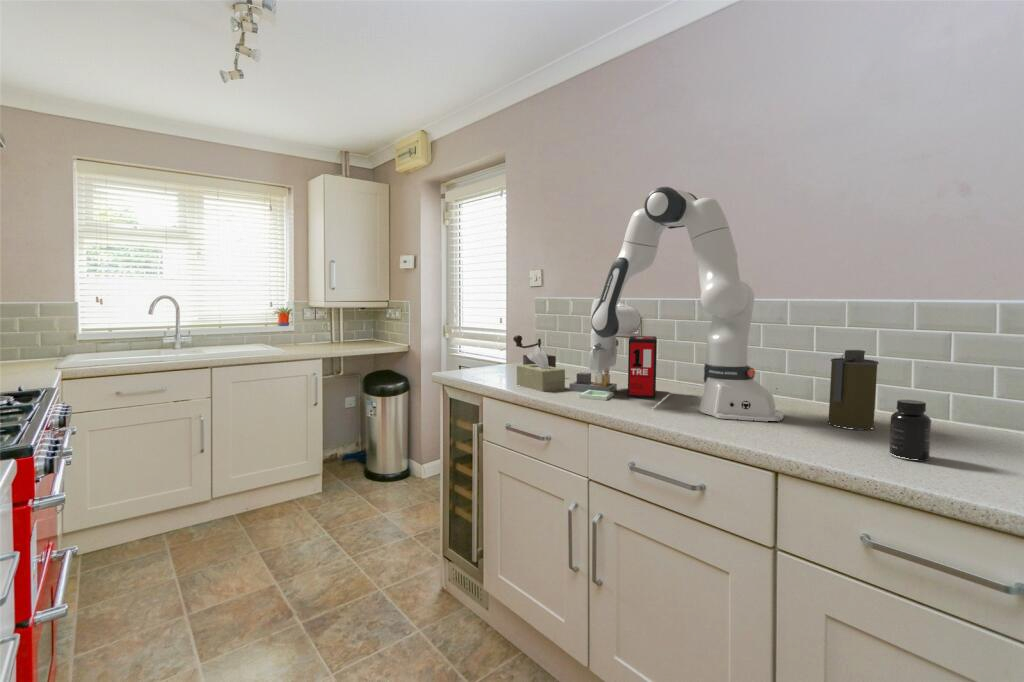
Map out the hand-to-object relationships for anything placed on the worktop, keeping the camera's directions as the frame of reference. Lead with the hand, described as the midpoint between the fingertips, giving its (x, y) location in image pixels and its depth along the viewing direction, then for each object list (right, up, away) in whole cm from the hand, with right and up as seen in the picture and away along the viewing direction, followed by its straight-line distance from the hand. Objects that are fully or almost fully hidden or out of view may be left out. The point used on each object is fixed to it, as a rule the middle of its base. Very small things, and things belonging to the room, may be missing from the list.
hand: (602, 381), depth 182 cm
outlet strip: (-3, -4, +2) cm, 5 cm away
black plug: (-6, -3, +4) cm, 8 cm away
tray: (-4, -5, -10) cm, 11 cm away
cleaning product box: (+13, -5, -4) cm, 14 cm away
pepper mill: (-23, -1, +35) cm, 42 cm away
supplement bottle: (+52, -11, -72) cm, 90 cm away
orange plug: (0, -4, 0) cm, 4 cm away
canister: (+57, -8, -46) cm, 74 cm away
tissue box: (-22, -4, +10) cm, 24 cm away
